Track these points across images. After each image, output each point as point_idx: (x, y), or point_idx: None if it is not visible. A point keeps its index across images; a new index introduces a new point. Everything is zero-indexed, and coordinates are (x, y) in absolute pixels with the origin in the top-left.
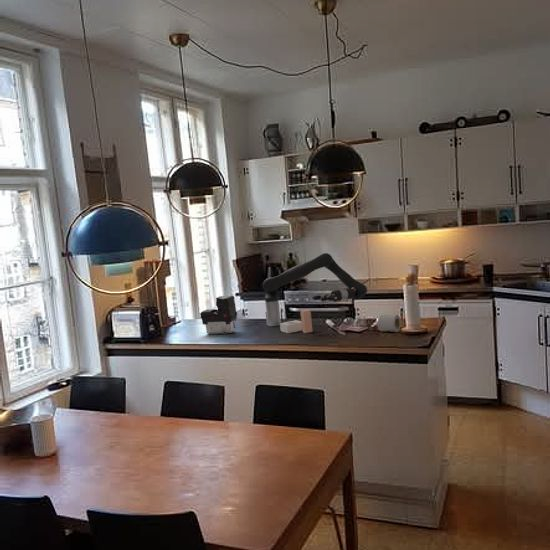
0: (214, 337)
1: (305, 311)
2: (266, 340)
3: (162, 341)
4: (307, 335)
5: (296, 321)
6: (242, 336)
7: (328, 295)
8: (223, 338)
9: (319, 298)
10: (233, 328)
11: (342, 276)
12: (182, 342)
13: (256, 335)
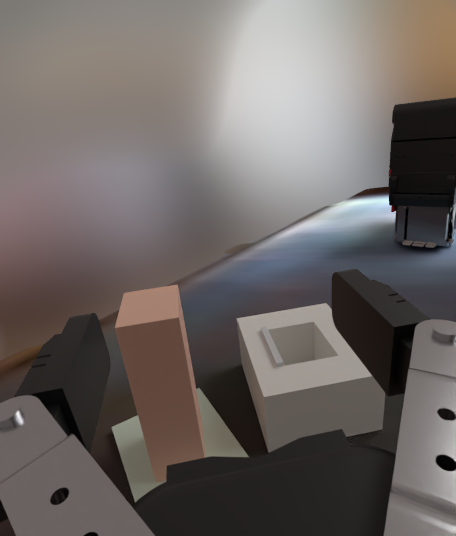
0: (367, 230)
1: (123, 303)
2: (205, 302)
3: (379, 193)
4: (113, 433)
5: (326, 367)
6: (335, 264)
7: (45, 455)
8: (337, 240)
9: (384, 376)
10: (434, 237)
11: None
12: (344, 207)
13: (324, 287)
